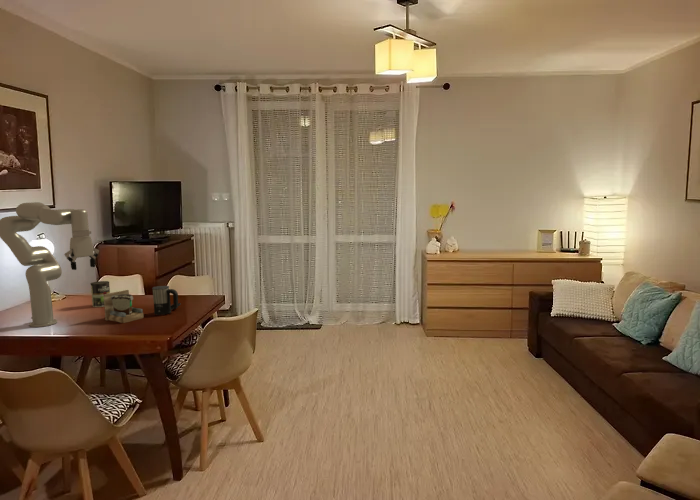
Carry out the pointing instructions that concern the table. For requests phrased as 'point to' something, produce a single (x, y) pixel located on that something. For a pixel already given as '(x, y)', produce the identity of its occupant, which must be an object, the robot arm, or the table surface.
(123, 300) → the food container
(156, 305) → the milk frother
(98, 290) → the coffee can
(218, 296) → the table surface
